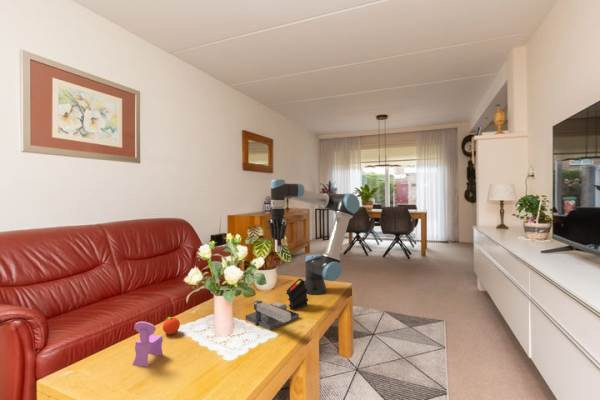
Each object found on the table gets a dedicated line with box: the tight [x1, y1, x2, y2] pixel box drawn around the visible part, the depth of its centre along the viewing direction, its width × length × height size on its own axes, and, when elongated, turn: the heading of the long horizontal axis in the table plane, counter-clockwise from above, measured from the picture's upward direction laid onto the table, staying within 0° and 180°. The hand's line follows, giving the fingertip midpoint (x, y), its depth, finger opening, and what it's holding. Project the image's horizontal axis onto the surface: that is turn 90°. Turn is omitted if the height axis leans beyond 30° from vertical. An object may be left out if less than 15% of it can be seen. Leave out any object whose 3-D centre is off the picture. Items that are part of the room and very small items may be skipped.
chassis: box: [245, 301, 300, 331], centre depth 148 cm, size 20×18×7 cm
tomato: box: [162, 316, 181, 335], centre depth 132 cm, size 8×7×7 cm
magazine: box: [286, 278, 309, 311], centre depth 163 cm, size 4×13×15 cm, turn 136°
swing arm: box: [253, 300, 291, 323], centre depth 135 cm, size 22×4×3 cm, turn 44°
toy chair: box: [132, 321, 164, 368], centre depth 111 cm, size 8×9×15 cm
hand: (277, 251), depth 163 cm, fingers closed
